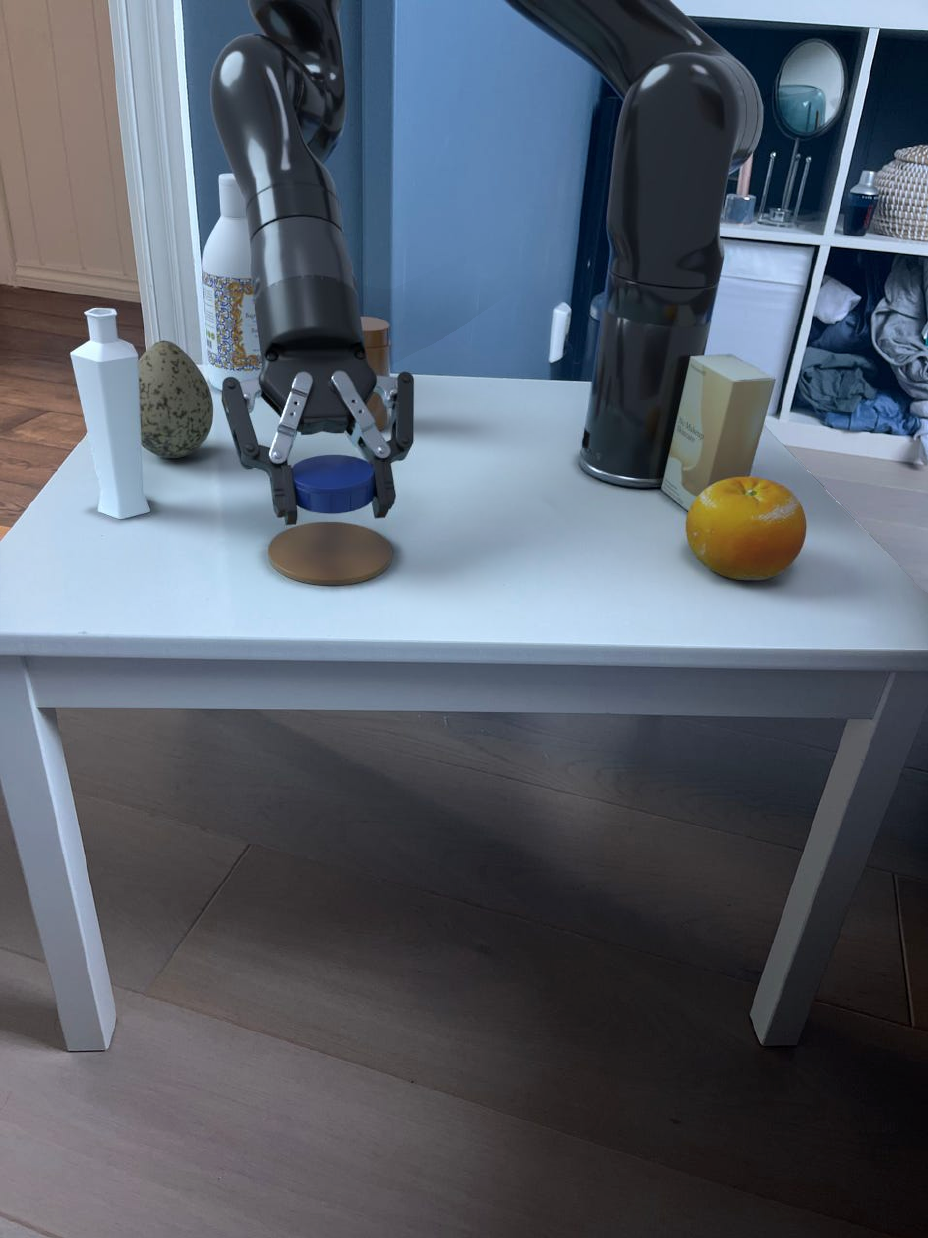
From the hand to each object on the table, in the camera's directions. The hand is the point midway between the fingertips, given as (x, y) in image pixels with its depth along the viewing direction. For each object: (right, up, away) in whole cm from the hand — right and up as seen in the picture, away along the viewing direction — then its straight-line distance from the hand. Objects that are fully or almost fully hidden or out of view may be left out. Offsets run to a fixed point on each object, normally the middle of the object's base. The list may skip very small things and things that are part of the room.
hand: (336, 517), depth 68 cm
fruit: (+30, -3, +7) cm, 31 cm away
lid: (0, +3, 0) cm, 3 cm away
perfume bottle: (-17, +1, +8) cm, 19 cm away
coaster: (-1, -2, +4) cm, 4 cm away
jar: (-1, +12, +27) cm, 29 cm away
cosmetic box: (+29, +3, +16) cm, 34 cm away
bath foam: (-14, +17, +33) cm, 40 cm away
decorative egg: (-16, +7, +17) cm, 24 cm away
